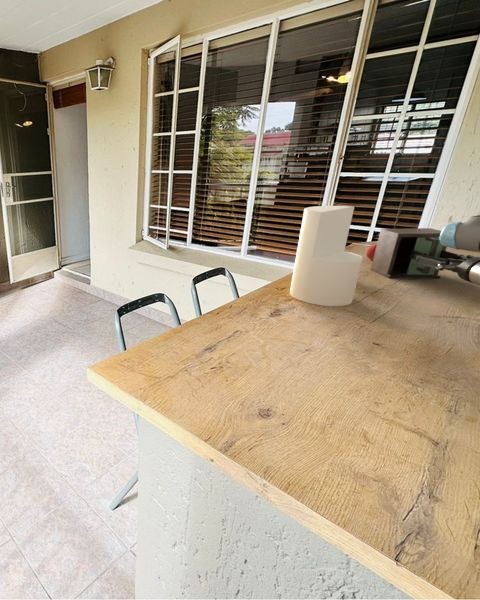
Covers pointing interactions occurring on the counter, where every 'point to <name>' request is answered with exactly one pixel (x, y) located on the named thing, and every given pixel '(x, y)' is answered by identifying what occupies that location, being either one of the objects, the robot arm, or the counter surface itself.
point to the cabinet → (400, 252)
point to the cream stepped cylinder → (325, 258)
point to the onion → (371, 252)
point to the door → (430, 248)
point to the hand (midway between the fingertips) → (425, 253)
